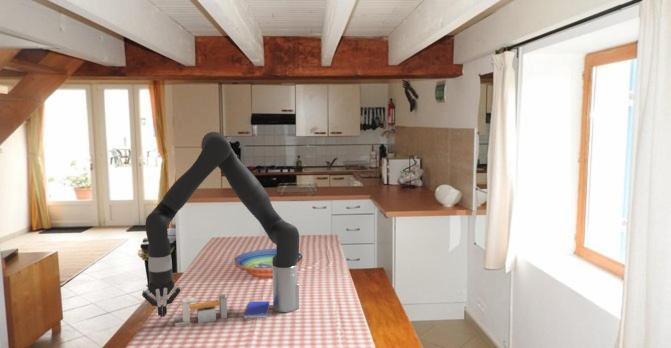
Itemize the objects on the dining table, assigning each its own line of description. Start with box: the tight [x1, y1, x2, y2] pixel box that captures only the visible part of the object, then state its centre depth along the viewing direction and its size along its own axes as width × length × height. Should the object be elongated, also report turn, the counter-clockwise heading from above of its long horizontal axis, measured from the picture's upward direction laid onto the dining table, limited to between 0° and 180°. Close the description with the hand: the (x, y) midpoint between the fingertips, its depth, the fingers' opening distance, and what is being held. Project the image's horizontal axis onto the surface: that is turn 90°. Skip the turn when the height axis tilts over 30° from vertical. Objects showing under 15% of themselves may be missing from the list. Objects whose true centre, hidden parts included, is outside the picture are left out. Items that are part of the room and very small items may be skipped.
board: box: [174, 293, 228, 327], centre depth 168 cm, size 19×15×8 cm
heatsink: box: [196, 306, 217, 324], centre depth 168 cm, size 6×6×4 cm
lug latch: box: [181, 296, 196, 324], centre depth 166 cm, size 4×4×8 cm
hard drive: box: [243, 301, 271, 319], centre depth 178 cm, size 2×8×12 cm
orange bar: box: [189, 299, 221, 311], centre depth 168 cm, size 12×2×2 cm, turn 111°
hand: (162, 315), depth 163 cm, fingers closed
